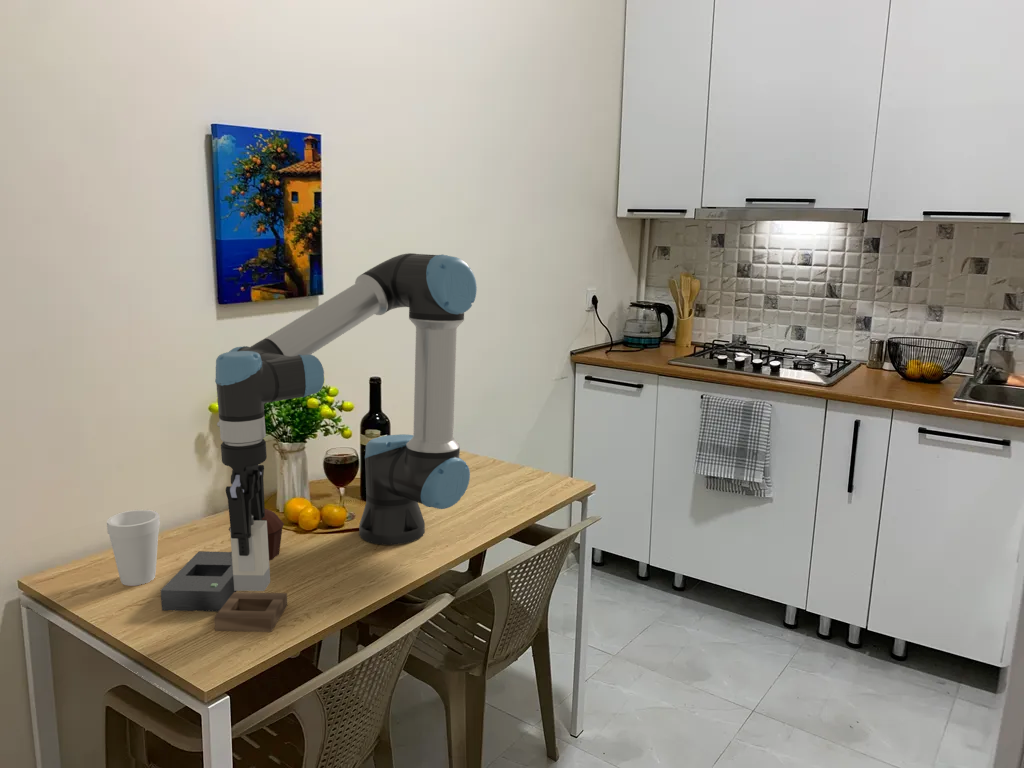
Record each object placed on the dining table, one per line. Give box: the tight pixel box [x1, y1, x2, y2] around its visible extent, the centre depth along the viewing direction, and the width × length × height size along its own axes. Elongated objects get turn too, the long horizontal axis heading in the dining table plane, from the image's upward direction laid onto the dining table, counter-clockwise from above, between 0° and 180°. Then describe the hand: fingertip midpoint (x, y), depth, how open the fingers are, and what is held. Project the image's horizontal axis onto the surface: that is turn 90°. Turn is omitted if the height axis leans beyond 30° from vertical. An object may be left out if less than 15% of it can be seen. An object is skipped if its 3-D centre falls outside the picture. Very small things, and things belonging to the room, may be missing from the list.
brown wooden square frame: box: [213, 591, 288, 633], centre depth 148 cm, size 10×10×2 cm
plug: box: [229, 515, 271, 592], centre depth 146 cm, size 4×5×14 cm, turn 89°
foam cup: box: [106, 509, 161, 587], centre depth 162 cm, size 10×9×13 cm
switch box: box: [160, 551, 238, 613], centre depth 159 cm, size 18×11×4 cm, turn 179°
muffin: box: [228, 508, 285, 561], centre depth 175 cm, size 12×11×10 cm
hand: (251, 564), depth 146 cm, fingers closed on plug, 4 cm apart
